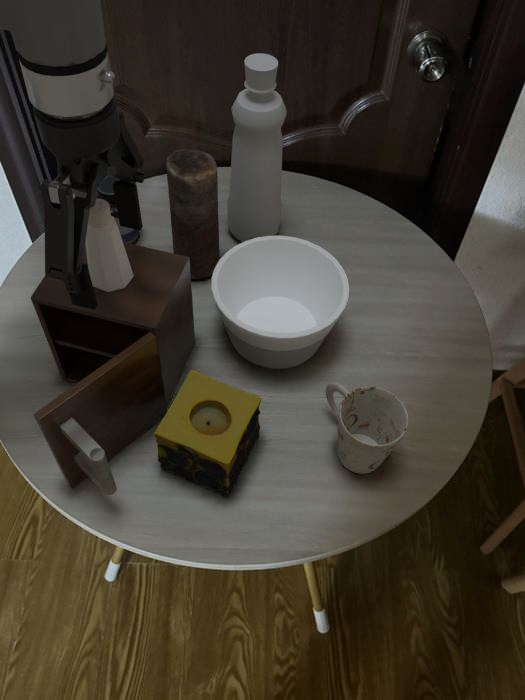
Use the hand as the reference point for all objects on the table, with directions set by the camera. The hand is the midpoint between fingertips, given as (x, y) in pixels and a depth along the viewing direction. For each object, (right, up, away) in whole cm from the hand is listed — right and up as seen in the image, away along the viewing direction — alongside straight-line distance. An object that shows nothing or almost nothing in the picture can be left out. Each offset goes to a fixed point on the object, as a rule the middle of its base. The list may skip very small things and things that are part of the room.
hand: (109, 263), depth 73 cm
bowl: (+20, -8, +20) cm, 30 cm away
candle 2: (+11, -24, +8) cm, 28 cm away
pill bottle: (-6, +9, +31) cm, 33 cm away
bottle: (+17, +10, +34) cm, 39 cm away
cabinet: (-1, -12, +16) cm, 20 cm away
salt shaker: (0, -1, +2) cm, 2 cm away
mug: (+30, -23, +10) cm, 39 cm away
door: (+2, -25, +6) cm, 26 cm away
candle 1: (+8, +4, +28) cm, 29 cm away
